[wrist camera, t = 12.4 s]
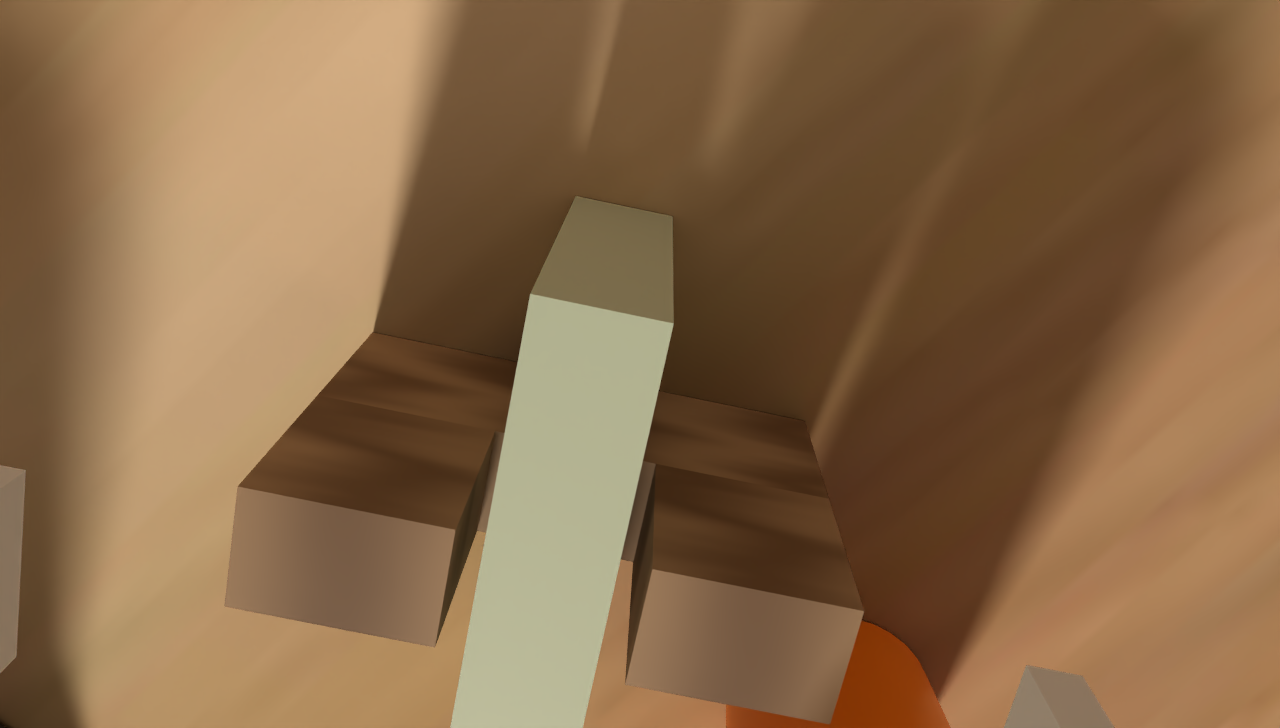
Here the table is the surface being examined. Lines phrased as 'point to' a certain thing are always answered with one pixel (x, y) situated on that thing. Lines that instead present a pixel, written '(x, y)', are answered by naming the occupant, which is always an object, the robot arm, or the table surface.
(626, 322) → the slot plate
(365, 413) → the brown wooden slotted board
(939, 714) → the shaker bottle
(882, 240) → the table surface
